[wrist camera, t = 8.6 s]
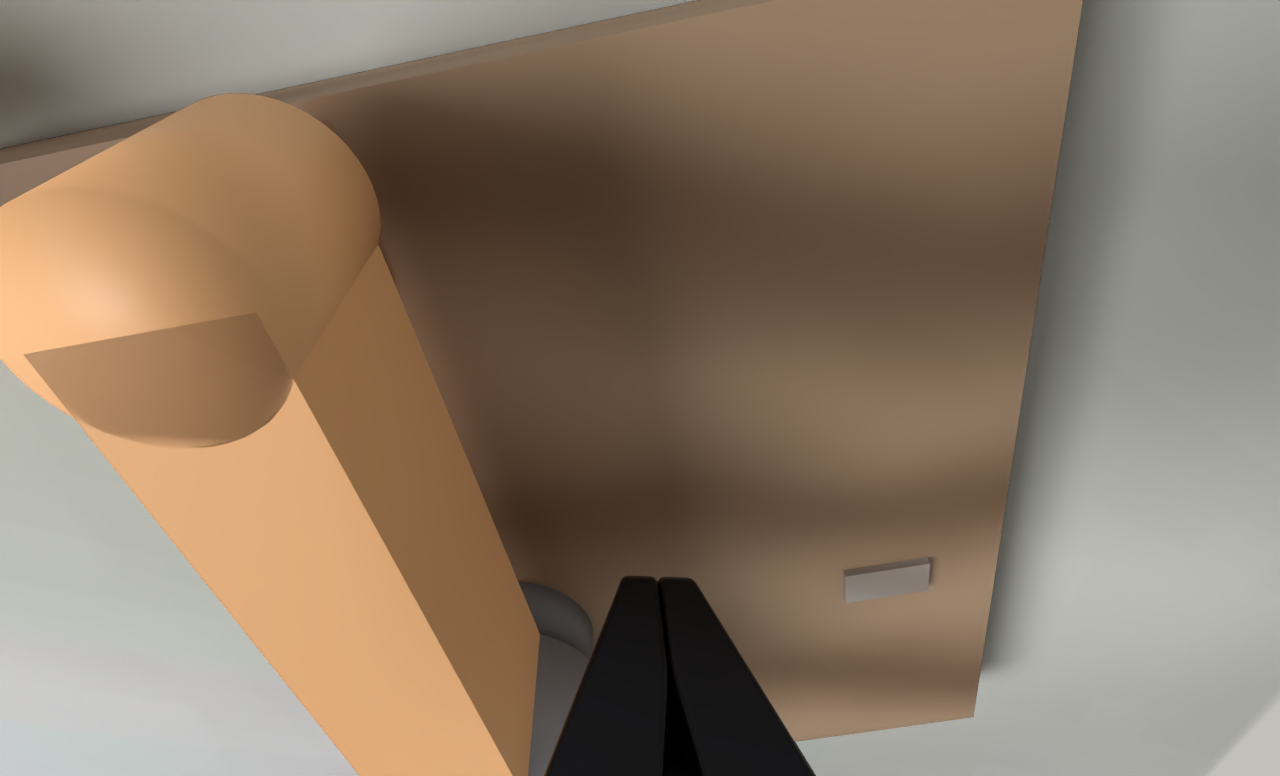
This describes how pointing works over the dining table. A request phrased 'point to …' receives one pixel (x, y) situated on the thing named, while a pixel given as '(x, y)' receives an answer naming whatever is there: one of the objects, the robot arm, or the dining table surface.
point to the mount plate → (730, 312)
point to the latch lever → (286, 428)
